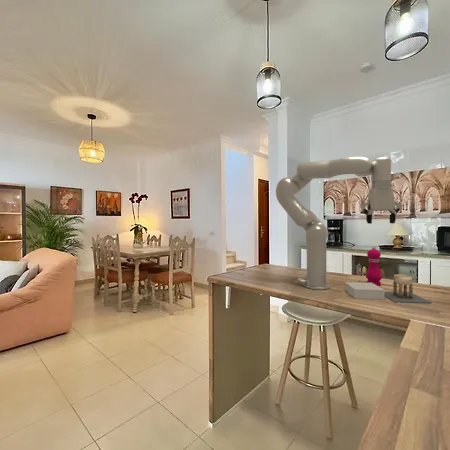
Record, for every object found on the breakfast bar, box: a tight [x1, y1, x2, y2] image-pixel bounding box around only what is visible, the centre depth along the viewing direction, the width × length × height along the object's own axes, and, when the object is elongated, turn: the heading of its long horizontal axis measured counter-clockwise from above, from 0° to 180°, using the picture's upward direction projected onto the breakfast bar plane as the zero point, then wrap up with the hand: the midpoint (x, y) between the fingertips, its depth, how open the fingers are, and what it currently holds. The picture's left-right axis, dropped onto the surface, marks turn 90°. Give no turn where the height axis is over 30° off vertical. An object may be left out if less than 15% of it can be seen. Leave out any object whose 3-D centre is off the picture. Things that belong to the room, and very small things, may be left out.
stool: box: [392, 273, 414, 299], centre depth 111 cm, size 7×7×9 cm
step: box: [344, 281, 385, 300], centre depth 116 cm, size 12×12×4 cm
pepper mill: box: [365, 246, 383, 287], centre depth 132 cm, size 7×7×20 cm
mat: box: [384, 291, 432, 304], centre depth 111 cm, size 14×14×1 cm
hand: (380, 223), depth 116 cm, fingers open, 9 cm apart
